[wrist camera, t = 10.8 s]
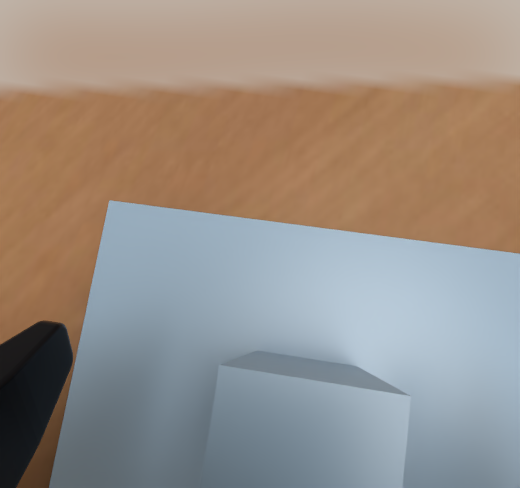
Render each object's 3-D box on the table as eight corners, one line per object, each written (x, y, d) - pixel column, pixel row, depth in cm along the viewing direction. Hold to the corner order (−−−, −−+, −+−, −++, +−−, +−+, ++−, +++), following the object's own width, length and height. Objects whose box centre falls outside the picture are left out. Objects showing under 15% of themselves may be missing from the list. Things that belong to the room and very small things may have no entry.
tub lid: (521, 650, 13) (833, 1091, 6) (49, 550, 15) (-226, 790, 7) (542, 263, 15) (797, 189, 8) (120, 208, 17) (-36, 98, 9)
